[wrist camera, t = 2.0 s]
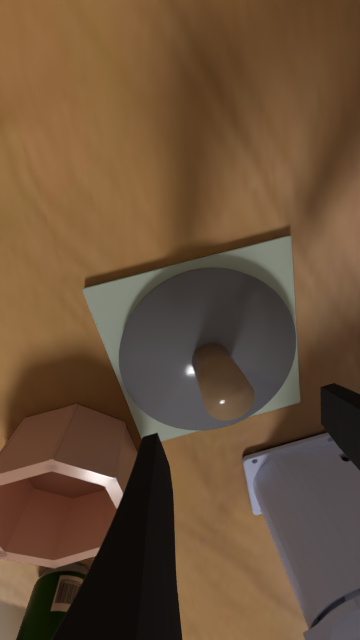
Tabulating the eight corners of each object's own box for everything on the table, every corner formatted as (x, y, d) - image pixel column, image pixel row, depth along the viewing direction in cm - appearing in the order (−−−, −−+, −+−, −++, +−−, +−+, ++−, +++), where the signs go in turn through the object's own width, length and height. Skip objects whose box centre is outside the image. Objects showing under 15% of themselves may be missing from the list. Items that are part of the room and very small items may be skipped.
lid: (283, 245, 14) (345, 249, 10) (294, 398, 18) (340, 451, 14) (92, 295, 14) (64, 323, 9) (148, 439, 18) (147, 506, 13)
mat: (286, 235, 14) (291, 235, 14) (296, 398, 19) (300, 402, 18) (84, 287, 14) (81, 289, 14) (144, 440, 19) (144, 446, 18)
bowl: (113, 392, 17) (100, 444, 13) (148, 477, 20) (148, 541, 16) (-13, 427, 16) (-70, 492, 12) (44, 507, 20) (14, 580, 16)
